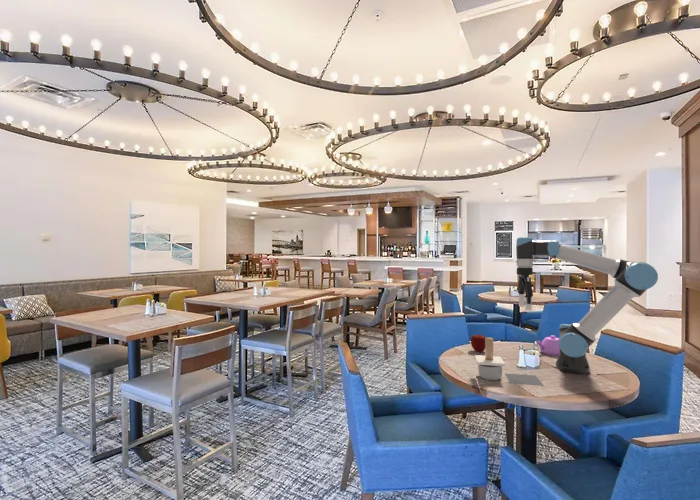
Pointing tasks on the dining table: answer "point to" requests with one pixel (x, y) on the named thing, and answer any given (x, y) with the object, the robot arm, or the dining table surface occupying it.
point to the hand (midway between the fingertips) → (525, 308)
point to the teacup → (490, 372)
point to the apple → (478, 342)
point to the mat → (523, 379)
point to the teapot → (550, 346)
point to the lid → (489, 355)
